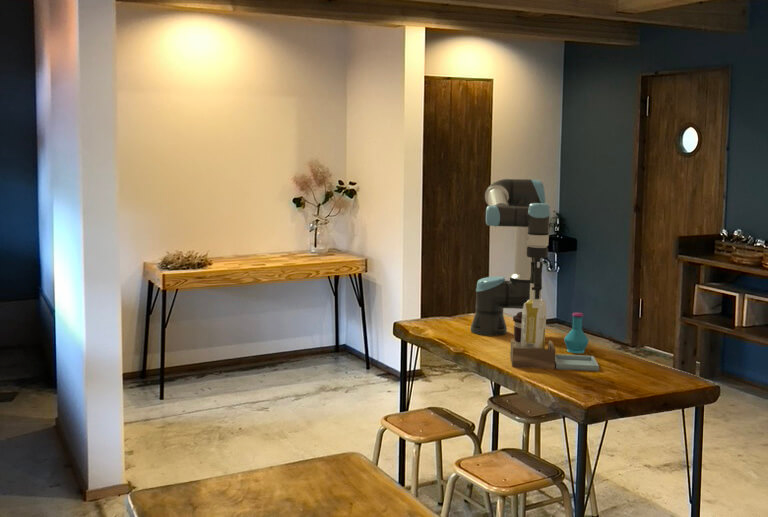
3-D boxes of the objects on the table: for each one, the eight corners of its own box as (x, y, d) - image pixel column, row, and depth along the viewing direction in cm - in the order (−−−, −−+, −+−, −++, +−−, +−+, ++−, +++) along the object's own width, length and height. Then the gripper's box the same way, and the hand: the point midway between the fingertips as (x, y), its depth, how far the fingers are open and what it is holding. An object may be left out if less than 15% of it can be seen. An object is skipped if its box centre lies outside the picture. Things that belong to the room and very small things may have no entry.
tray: (552, 359, 321) (552, 354, 321) (593, 361, 320) (593, 355, 319) (556, 369, 307) (556, 363, 307) (598, 371, 306) (599, 365, 306)
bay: (510, 356, 323) (511, 338, 322) (550, 358, 322) (551, 340, 321) (512, 367, 309) (513, 348, 308) (554, 369, 308) (555, 349, 307)
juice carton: (540, 367, 310) (543, 301, 306) (518, 364, 312) (521, 299, 309) (544, 361, 318) (548, 297, 315) (523, 358, 321) (526, 295, 318)
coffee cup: (537, 355, 326) (539, 316, 324) (510, 353, 328) (512, 315, 326) (537, 349, 336) (539, 311, 334) (512, 347, 338) (514, 310, 336)
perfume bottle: (559, 350, 334) (561, 313, 332) (571, 347, 341) (573, 310, 339) (580, 355, 328) (582, 316, 326) (592, 351, 335) (594, 313, 333)
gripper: (524, 242, 322) (522, 298, 325) (529, 250, 297) (526, 310, 300) (544, 242, 321) (542, 298, 324) (551, 250, 297) (548, 311, 299)
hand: (534, 304), depth 312 cm, fingers open, 13 cm apart
